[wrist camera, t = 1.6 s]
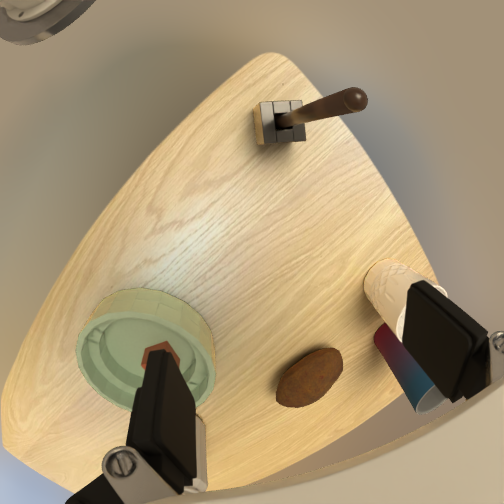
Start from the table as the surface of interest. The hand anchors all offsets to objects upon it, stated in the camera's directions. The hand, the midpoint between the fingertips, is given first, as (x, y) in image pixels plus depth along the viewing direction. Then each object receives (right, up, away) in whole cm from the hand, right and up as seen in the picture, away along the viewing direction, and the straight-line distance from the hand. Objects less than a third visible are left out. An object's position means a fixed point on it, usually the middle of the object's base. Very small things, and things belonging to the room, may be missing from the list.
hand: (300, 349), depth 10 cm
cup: (+20, -9, +32) cm, 38 cm away
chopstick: (0, +17, +19) cm, 26 cm away
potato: (+6, -13, +31) cm, 34 cm away
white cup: (+17, 0, +28) cm, 32 cm away
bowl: (-16, -9, +27) cm, 32 cm away
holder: (0, +17, +19) cm, 26 cm away
